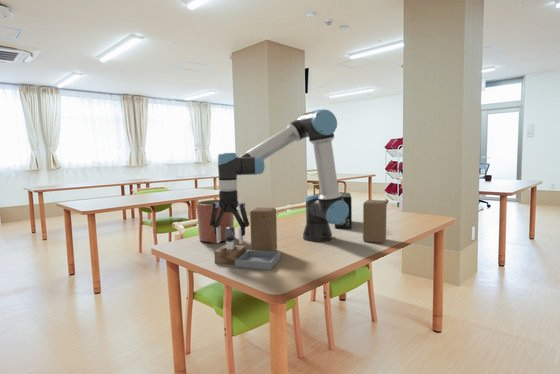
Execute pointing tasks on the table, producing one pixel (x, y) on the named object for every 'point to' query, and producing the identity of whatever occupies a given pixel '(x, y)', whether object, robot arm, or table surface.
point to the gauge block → (228, 254)
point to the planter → (205, 217)
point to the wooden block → (263, 229)
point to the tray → (258, 260)
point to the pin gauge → (230, 237)
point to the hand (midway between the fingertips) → (230, 242)
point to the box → (348, 221)
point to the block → (374, 221)
